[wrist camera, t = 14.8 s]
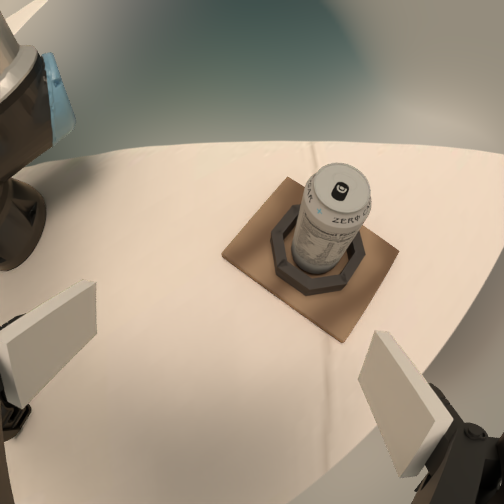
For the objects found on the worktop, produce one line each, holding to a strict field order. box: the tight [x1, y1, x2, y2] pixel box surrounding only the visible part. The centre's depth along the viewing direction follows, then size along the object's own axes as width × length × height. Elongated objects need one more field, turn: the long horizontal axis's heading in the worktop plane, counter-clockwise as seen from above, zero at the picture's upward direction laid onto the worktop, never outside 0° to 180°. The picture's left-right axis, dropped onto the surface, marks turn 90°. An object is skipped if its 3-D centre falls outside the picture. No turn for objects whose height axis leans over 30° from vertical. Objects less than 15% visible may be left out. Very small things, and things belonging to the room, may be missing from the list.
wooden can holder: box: [221, 177, 399, 343], centre depth 38 cm, size 18×14×4 cm
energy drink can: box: [291, 163, 371, 274], centre depth 32 cm, size 6×6×15 cm
